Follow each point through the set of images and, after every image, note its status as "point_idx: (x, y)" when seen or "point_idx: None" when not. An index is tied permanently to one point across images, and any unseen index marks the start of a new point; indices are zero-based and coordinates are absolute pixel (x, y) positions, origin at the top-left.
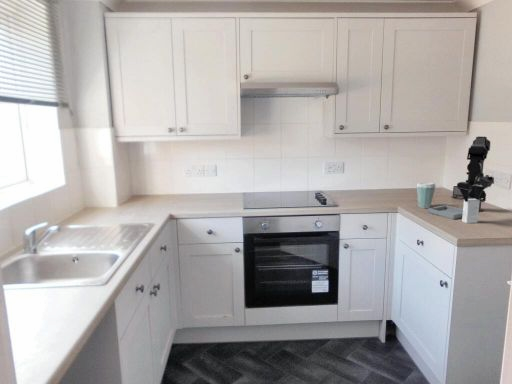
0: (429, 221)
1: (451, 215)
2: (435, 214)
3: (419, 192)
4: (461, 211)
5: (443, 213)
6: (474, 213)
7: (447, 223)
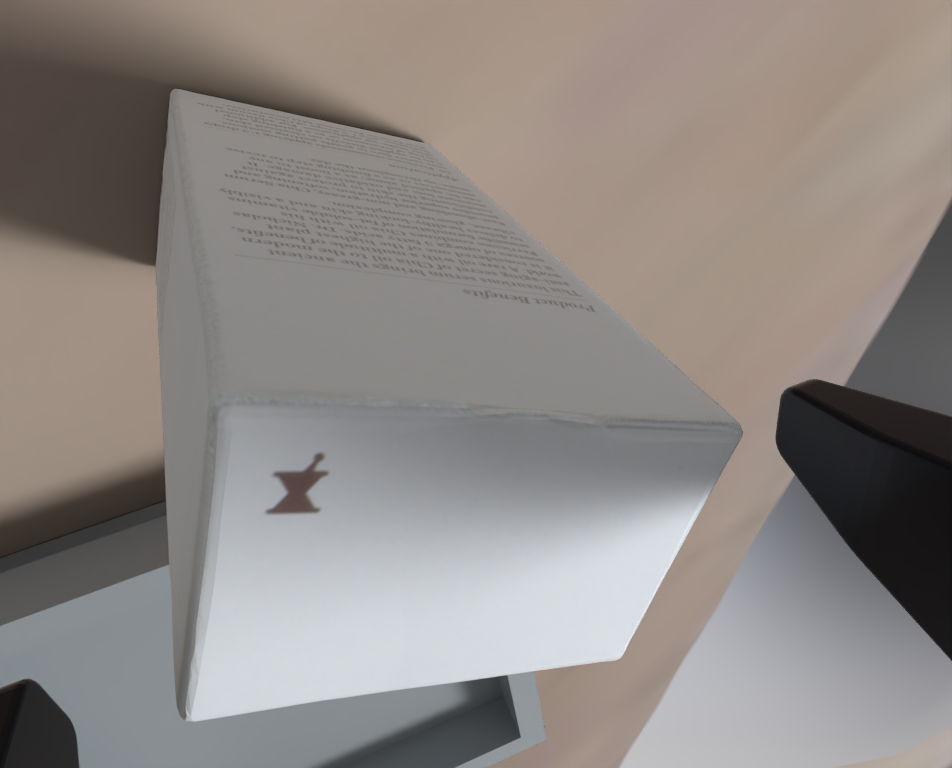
0: (832, 354)
1: None
2: None
3: None
4: None
5: None
6: (318, 182)
7: (734, 214)
